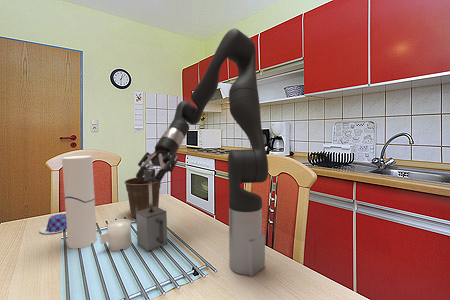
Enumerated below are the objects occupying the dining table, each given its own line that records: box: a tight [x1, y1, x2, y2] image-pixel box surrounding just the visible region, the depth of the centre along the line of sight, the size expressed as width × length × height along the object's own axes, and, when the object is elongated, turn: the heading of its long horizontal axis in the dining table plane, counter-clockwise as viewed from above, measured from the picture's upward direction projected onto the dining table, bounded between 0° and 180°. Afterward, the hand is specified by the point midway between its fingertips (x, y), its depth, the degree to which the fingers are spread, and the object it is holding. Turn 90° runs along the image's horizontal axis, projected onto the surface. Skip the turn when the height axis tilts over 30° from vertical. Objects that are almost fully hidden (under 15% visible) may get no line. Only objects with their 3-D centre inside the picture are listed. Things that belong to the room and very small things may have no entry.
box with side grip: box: [135, 206, 168, 253], centre depth 77 cm, size 10×7×12 cm
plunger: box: [143, 168, 157, 213], centre depth 77 cm, size 5×5×16 cm
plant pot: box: [123, 176, 162, 219], centre depth 106 cm, size 16×16×16 cm
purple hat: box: [39, 213, 67, 235], centre depth 92 cm, size 12×12×5 cm
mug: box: [99, 218, 132, 252], centre depth 76 cm, size 7×9×8 cm
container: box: [61, 155, 98, 250], centre depth 79 cm, size 9×9×30 cm
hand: (147, 179), depth 75 cm, fingers open, 8 cm apart
